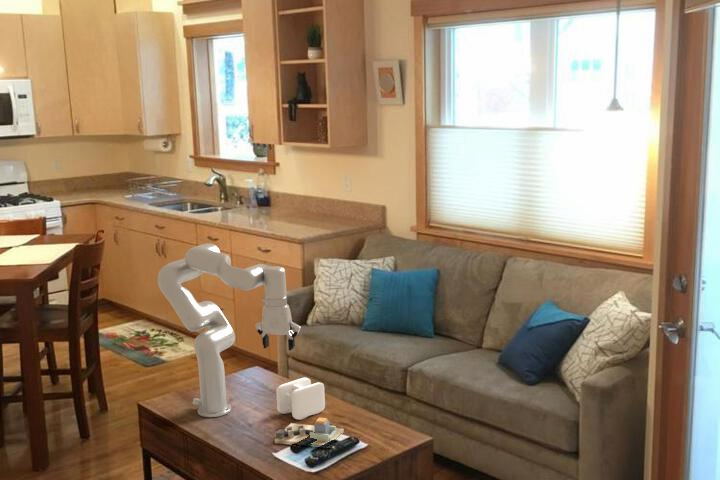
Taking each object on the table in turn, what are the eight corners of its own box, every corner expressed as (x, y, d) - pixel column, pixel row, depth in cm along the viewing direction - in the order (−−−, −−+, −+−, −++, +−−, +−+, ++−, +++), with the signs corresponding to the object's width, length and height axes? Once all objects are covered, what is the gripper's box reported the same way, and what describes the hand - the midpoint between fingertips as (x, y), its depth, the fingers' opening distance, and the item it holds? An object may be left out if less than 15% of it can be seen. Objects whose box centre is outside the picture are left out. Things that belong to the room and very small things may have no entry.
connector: (314, 437, 269) (314, 421, 267) (319, 432, 272) (318, 416, 271) (325, 438, 267) (325, 422, 266) (329, 434, 271) (329, 417, 270)
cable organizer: (293, 423, 284) (291, 392, 282) (276, 415, 292) (274, 385, 290) (325, 411, 294) (324, 382, 292) (308, 403, 302) (307, 375, 300)
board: (275, 442, 268) (274, 433, 268) (291, 426, 281) (290, 416, 281) (329, 449, 262) (329, 439, 262) (343, 431, 275) (343, 422, 275)
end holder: (309, 439, 268) (309, 433, 267) (317, 430, 275) (317, 424, 274) (329, 441, 265) (329, 435, 265) (337, 432, 272) (337, 426, 272)
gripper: (249, 303, 275) (252, 349, 279) (294, 305, 270) (297, 353, 273) (258, 297, 282) (261, 343, 286) (303, 300, 277) (305, 346, 280)
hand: (278, 348), depth 279 cm, fingers open, 9 cm apart
